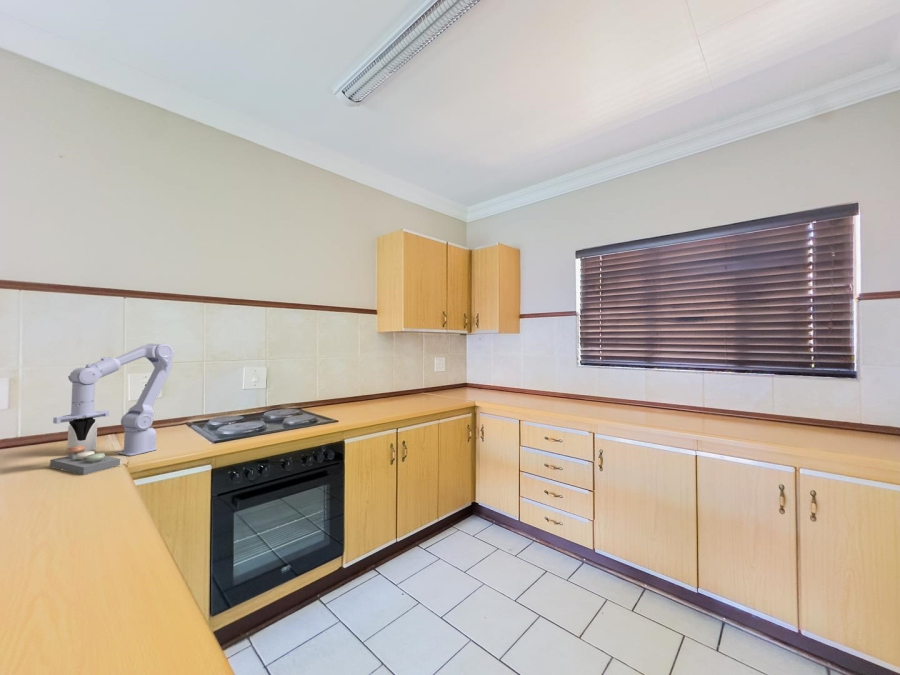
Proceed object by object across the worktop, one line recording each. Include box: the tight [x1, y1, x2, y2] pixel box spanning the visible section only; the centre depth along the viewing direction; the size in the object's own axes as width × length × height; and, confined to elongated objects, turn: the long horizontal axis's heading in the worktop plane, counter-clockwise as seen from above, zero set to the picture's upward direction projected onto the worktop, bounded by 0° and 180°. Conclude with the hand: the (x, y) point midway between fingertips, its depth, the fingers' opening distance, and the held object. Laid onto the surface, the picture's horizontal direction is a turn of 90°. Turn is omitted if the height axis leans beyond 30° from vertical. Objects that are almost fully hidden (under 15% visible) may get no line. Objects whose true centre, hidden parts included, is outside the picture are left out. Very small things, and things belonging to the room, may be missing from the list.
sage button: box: [87, 452, 106, 464], centre depth 126 cm, size 4×4×4 cm
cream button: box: [77, 450, 96, 461], centre depth 128 cm, size 4×4×4 cm
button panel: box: [49, 455, 121, 476], centre depth 128 cm, size 20×10×2 cm, turn 69°
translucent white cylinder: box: [66, 419, 98, 452], centre depth 144 cm, size 8×8×12 cm
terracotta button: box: [66, 446, 85, 459], centre depth 130 cm, size 4×4×4 cm
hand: (81, 440), depth 129 cm, fingers closed
